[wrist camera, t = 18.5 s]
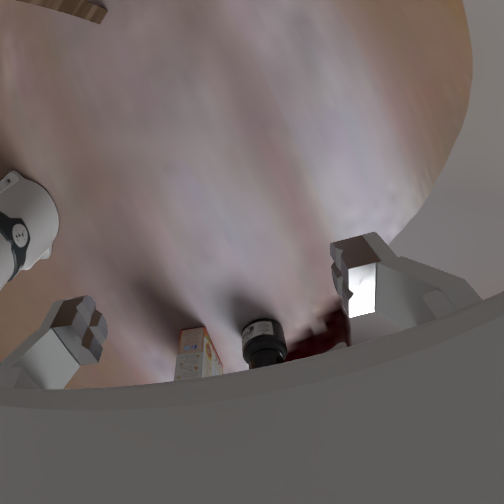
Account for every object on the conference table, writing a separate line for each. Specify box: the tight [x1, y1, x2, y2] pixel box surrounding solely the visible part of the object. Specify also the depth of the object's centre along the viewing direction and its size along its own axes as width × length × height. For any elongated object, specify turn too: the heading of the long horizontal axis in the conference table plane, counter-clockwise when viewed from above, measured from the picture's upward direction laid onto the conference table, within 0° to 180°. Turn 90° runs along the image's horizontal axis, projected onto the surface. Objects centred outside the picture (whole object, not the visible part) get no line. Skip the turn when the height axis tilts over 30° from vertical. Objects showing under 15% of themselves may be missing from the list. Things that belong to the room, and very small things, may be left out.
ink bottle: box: [242, 319, 287, 370], centre depth 62 cm, size 10×9×12 cm
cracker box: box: [174, 327, 223, 381], centre depth 59 cm, size 14×6×21 cm, turn 12°
